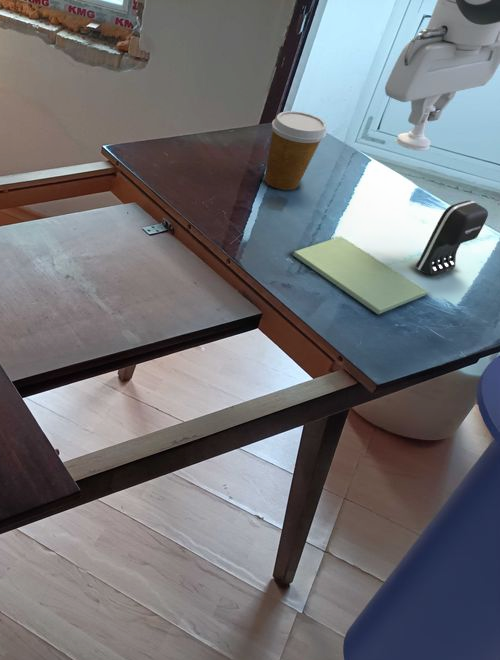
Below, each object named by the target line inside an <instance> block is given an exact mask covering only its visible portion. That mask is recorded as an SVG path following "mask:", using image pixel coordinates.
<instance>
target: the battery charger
mask: <svg viewBox="0 0 500 660" xmlns="http://www.w3.org/2000/svg"><path fill="white" fill-rule="evenodd" d="M488 217H489V211H488V209H486V208H485V207H484V206H482V205H480V204H479V203H477V202H476V201H474V200H465V201H460V202H457V203H455V204H451V205H449V206H448V207H447V208H446V209H445V210H444V211H443V212H442V215H441V216H440V218H439V219H438V222H437V224H436V225H435V227H434V229H433V230H432V233H431V235H430V236H429V239H428V241H427V243H426V245H425V248H424V250H423V251H422V254H421V256H420V257H419V259H418V261H417V262H416V265H415V268H416V269H417V270H418V271H421V272H422V273H424V274H426V275H428V276H433V277H435V276H437V275H440V274H443V273H447V272H449V271H452V270H454V269H455V267H456V261H457V260H456V257H457V252H458V249H459V247H460V246H461V244H464V243H466V242H470V241H473V240H475V239H477V238H478V237H479V234H480V233H481V231H482V229H483V227H484V225H485V224H486V221H487V220H488Z"/></svg>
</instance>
